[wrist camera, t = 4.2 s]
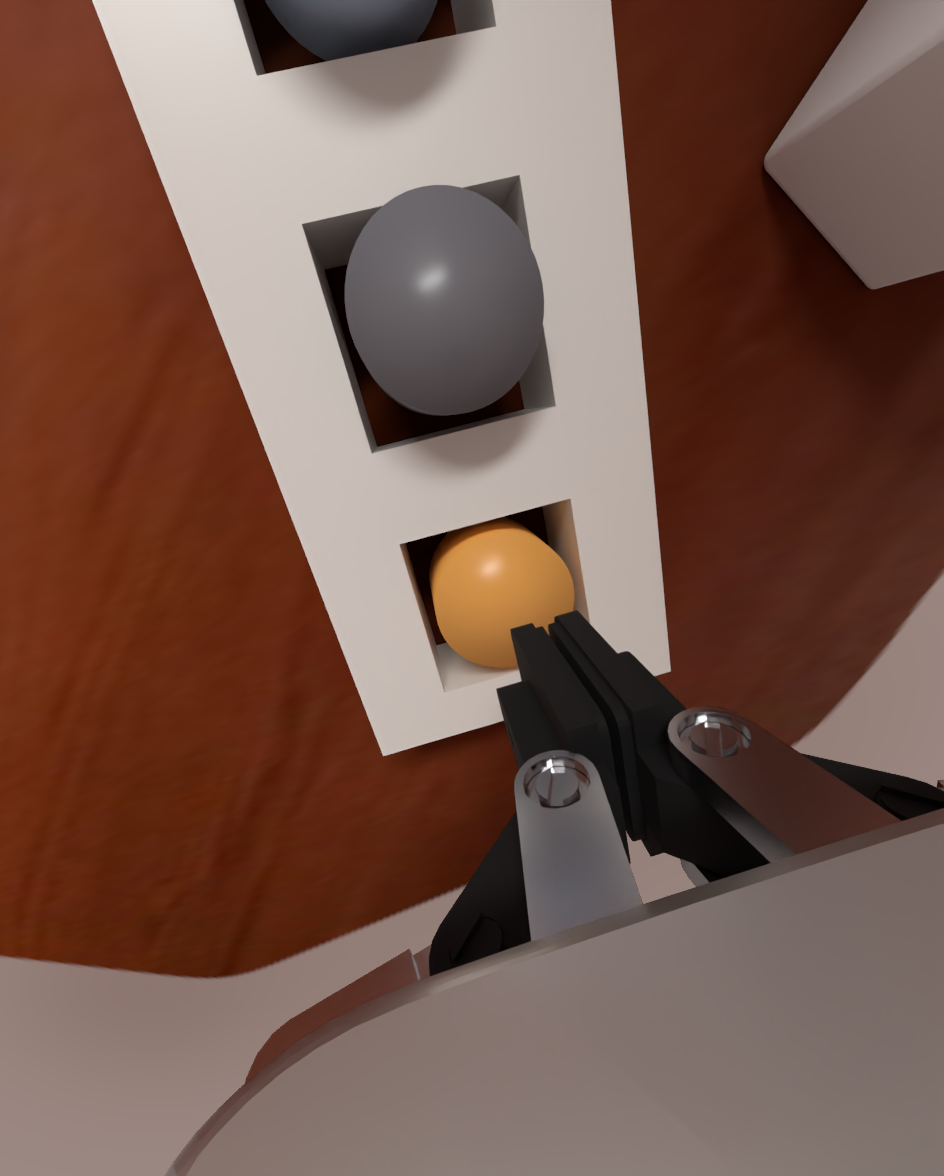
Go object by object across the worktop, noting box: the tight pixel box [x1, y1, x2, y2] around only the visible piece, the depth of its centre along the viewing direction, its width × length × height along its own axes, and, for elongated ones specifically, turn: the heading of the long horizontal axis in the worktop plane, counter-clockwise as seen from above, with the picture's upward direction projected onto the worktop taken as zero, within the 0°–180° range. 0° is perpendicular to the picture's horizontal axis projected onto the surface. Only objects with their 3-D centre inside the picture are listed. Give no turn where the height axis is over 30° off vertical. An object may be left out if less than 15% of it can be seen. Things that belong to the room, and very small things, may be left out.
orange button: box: [429, 517, 575, 668], centre depth 18 cm, size 5×5×4 cm
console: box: [92, 0, 671, 756], centre depth 15 cm, size 28×12×4 cm, turn 13°
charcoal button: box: [345, 185, 544, 416], centre depth 13 cm, size 5×5×4 cm
